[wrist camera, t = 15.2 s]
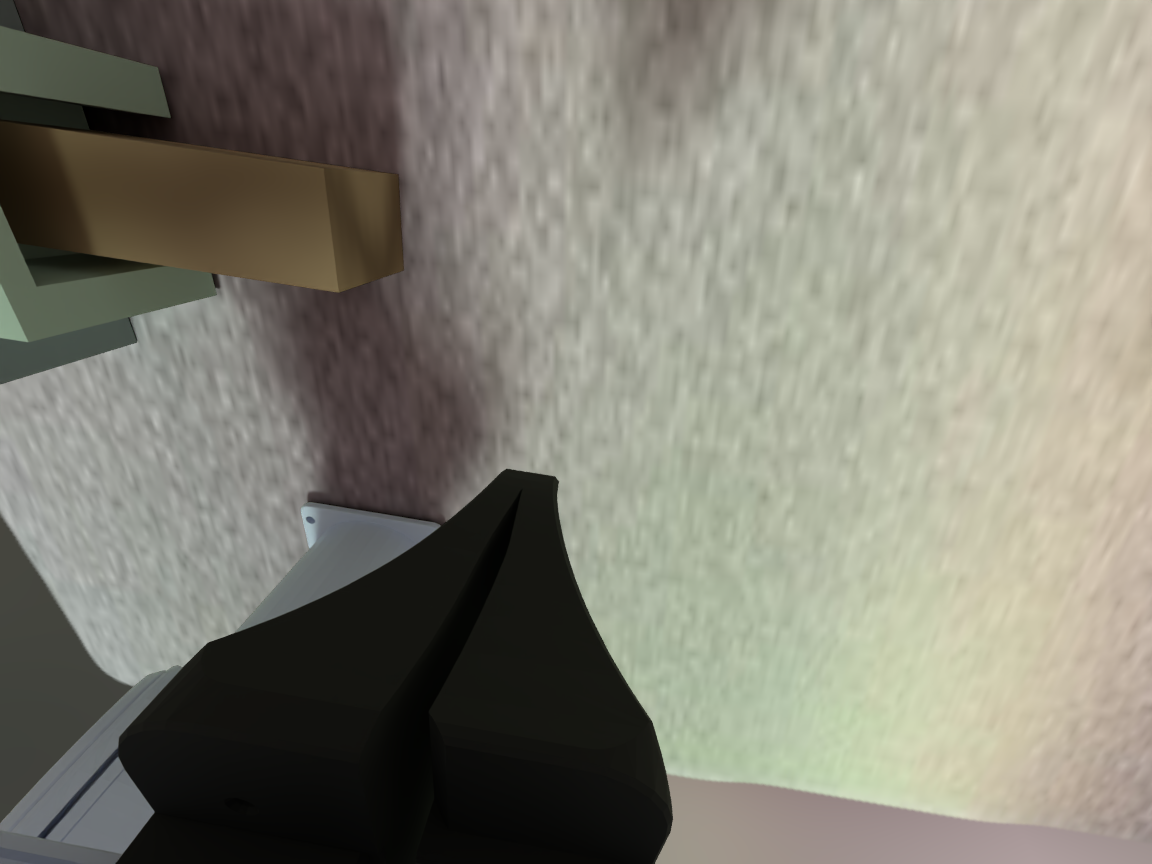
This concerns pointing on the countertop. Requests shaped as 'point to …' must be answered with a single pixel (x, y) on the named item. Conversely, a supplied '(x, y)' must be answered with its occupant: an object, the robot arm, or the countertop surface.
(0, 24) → the board
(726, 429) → the countertop surface
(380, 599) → the robot arm
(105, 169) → the bar
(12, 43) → the block
